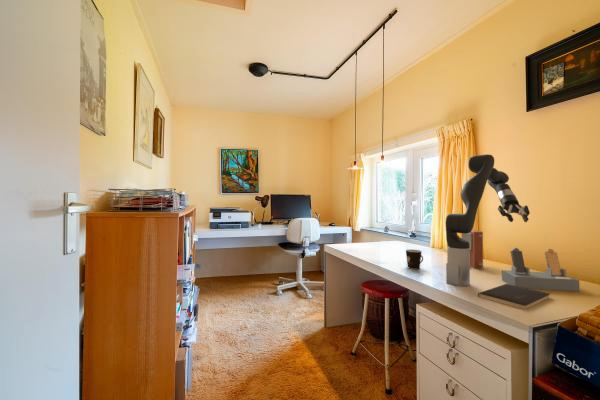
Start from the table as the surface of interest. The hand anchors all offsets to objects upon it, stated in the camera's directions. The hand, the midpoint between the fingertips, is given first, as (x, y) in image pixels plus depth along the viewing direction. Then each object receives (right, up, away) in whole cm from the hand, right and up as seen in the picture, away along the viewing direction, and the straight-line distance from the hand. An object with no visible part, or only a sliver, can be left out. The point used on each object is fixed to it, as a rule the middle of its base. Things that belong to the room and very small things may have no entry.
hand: (519, 221), depth 144 cm
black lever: (-13, -23, -17) cm, 32 cm away
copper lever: (+1, -23, -20) cm, 31 cm away
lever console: (-6, -28, -18) cm, 34 cm away
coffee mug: (-50, -29, +15) cm, 59 cm away
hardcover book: (-29, -29, -33) cm, 53 cm away
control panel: (-13, -29, +20) cm, 37 cm away
